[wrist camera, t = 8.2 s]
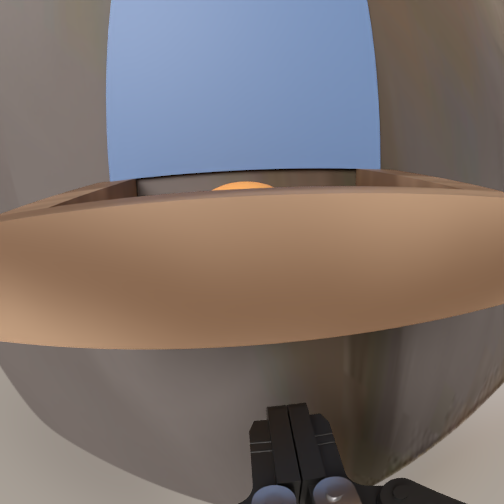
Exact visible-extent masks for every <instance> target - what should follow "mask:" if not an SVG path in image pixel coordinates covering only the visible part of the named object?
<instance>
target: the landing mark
mask: <svg viewBox="0 0 504 504" xmlns="http://www.w3.org/2000/svg"><path fill="white" fill-rule="evenodd" d="M106 118H107V144H108V160H109V174H110V182H111V181H119V180H128V179H136V178H146V177H155V176H166V175H177V174H189V173H202V172H218V171H235V170H258V169H296V168H345V169H380V123H379V102H378V87H377V74H376V63H375V54H374V45H373V37H372V30H371V22H370V16H369V10H368V4H367V0H111V9H110V19H109V31H108V47H107V72H106Z"/></svg>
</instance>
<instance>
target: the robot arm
mask: <svg viewBox="0 0 504 504" xmlns="http://www.w3.org/2000/svg"><path fill="white" fill-rule="evenodd" d="M249 435H250V449H251V464H252V478H253V489H252V492H251V494H250V495H249V497H248V498H247V499H246V500H244V501H243V502H241V503H239V504H466V503H463V502H461V501H458V500H456V499H453V498H451V497H448V496H446V495H443V494H441V493H438V492H436V491H434V490H432V489H429V488H427V487H425V486H422V485H420V484H418V483H416V482H414V481H411V480H409V479H406V478H396V479H393V480H390V481H389V482H387V483H386V484H385V485H384V486H364V485H359V484H357V483H354V482H353V481H351V480H350V479H349V478H348V477H347V475H346V474H345V471H344V468H343V465H342V462H341V458H340V455H339V452H338V449H337V446H336V443H335V440H334V437H333V435H332V431H331V428H330V424H329V422H328V421H327V420H326V419H325V418H324V417H323V416H322V415H321V414H314V415H309V411H308V408H307V405H306V403H299V404H290V405H287V406H286V405H282V406H272V407H267V420H261V421H254V423H253V425H252V427H251V429H250V431H249Z"/></svg>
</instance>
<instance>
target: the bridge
mask: <svg viewBox="0 0 504 504" xmlns="http://www.w3.org/2000/svg"><path fill="white" fill-rule="evenodd" d="M501 304H504V192H502V191H498V190H494V189H489V188H485V187H481V186H476V185H472V184H467V183H463V182H458V181H453V180H448V179H443V178H437V177H432V176H427V175H421V174H415V173H409V172H403V171H397V170H387V169H356V186H311V187H274V188H250V189H230V190H213V191H198V192H185V193H172V194H161V195H150V196H139V197H137V187H136V179H128V180H119V181H111V182H102V183H96V184H93V185H89V186H86V187H82V188H79V189H75V190H72V191H68V192H65V193H62V194H58V195H55V196H52V197H49V198H46V199H43V200H40V201H36V202H33V203H30V204H28V205H25V206H22V207H19V208H16V209H13V210H10V211H8V212H5V213H2V214H0V341H4V342H13V343H23V344H33V345H45V346H59V347H76V348H99V349H193V348H217V347H235V346H250V345H263V344H275V343H286V342H296V341H305V340H314V339H322V338H330V337H338V336H346V335H353V334H360V333H366V332H373V331H379V330H385V329H391V328H397V327H402V326H408V325H413V324H418V323H424V322H429V321H433V320H438V319H443V318H448V317H452V316H457V315H461V314H465V313H470V312H474V311H478V310H482V309H486V308H490V307H494V306H497V305H501Z"/></svg>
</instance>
